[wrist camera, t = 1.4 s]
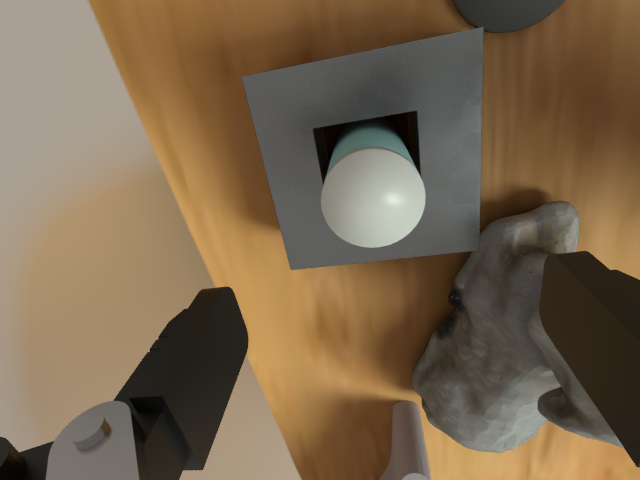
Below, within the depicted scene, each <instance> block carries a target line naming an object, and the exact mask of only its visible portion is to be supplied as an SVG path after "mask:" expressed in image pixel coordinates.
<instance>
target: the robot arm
mask: <svg viewBox="0 0 640 480" xmlns="http://www.w3.org/2000/svg"><path fill="white" fill-rule="evenodd" d="M539 314H540V319H541V323H542V326H543V328H544V330H545V332H546V334H547V335H548V337H549V338H550V340H551V341H552V343H553V344H554V346H555V347H556V349H557V350H558V351H559V353H560V354H561V356H562V357H563V359H564V360H565V362H566V363H567V365H568V366H569V368H570V369H571V371H572V372H573V374H574V375H575V376H576V378H577V379H578V381H579V382H580V384H581V385H582V387H583V388H584V390H585V391H586V393H587V394H588V396H589V397H590V399H591V400H592V401H593V403H594V404H595V406H596V407H597V409H598V410H599V412H600V413H601V415H602V416H603V418H604V419H605V421H606V422H607V423H608V425H609V426H610V428H611V429H612V431H613V432H614V434H615V435H616V437H617V438H618V440H619V441H620V443H621V444H622V446H623V447H624V448H625V450H626V451H627V453H628V454H629V456H630V457H631V459H632V460H633V462H634V463H635V465H636V466H637V467H640V280H638V279H636V278H634V277H632V276H629V275H627V274H625V273H623V272H621V271H618V270H609V269H608V268H607V267H606V266H605V265H604V264H602V263H601V262H600V261H599V260H598V259H596V258H595V257H594V256H593V255H592V254H590V253H589V252H587V251H580V252H570V253H560V254H551V255H548V256H547V257H546V259H545V262H544V269H543V278H542V287H541V295H540V304H539ZM247 349H248V332H247V328H246V326H245V323H244V320H243V317H242V314H241V311H240V308H239V306H238V303H237V300H236V297H235V294H234V292H233V290H232V289H231V288H230V287H219V288H210V289H202V290H201V291H200V292H199V293H198V294H197V296H196V297H195V299H194V300H193V302H192V303H191V305H190V306H189V308H188V309H184V310H183V311H182V312H180V313H179V314H178V315H177V316H176V317H174V318H173V319H172V320H171V321H170V322H169V323H168V324H167V325H166V327H165V329H164V330H163V331H162V333H161V334H160V336H159V339H158V340H156V341H155V343H154V344H153V345H152V347H151V348H150V352H148V353H147V354H146V355H145V357H144V358H143V359H142V361H141V362H140V364H139V365H138V366H137V368H136V369H135V371H134V372H133V374H132V375H131V376H130V378H129V379H128V381H127V382H126V384H125V385H124V386H123V388H122V389H121V391H120V392H119V394H118V395H117V396H116V398H115V399H114V400H113V401H109V402H105V403H102V404H99V405H96V406H94V407H92V408H90V409H88V410H86V411H85V412H83V413H82V414H80V415H79V416H77V417H76V418H75V419H74V420H72V421H71V422H70V423H69V424H68V425H67V426H66V427H65V428H64V429H63V430H62V431H61V433H60V434H59V435H58V436H57V438H56V439H55V441H53V442H50V443H47V444H44V445H41V446H38V447H35V448H31V449H29V450H25V451H22V452H18V451H17V450H16V449H15V448H14V447H13V445H12V444H11V443H10V442H9V441H8V440H7V439H6V438H3V437H0V480H179V478H180V476H181V473H182V471H183V470H203V468H204V466H205V463H206V460H207V457H208V455H209V452H210V449H211V447H212V444H213V441H214V439H215V436H216V433H217V431H218V428H219V425H220V423H221V420H222V417H223V414H224V412H225V409H226V407H227V404H228V401H229V398H230V396H231V393H232V390H233V388H234V385H235V382H236V380H237V376H238V374H239V372H240V369H241V366H242V364H243V361H244V358H245V356H246V353H247Z"/></svg>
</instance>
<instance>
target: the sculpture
mask: <svg viewBox="0 0 640 480" xmlns="http://www.w3.org/2000/svg"><path fill="white" fill-rule="evenodd" d="M579 220H580V216H579V213H578V211H577V210H576V209H575V207H574V206H573V205H572V204H570V203H569V202H565V201H552V202H548V203H546V204H544V205H542V206H540V207H538V208H536V209H534V210H532V211H529V212H527V213H523V214H519V215H514V216H509V217H505V218H501V219H498V220H495V221H493V222H492V223H490V224H488V225H487V226H486V227H485V228H484V229H483V231H482V232H481V233H480V242H479V250H478V251H471V253H470V256H469V257H468V259H467V260H466V262H465V263H464V265H463V266H462V268H461V269H460V271H459V272H458V274H457V275H456V277H455V281H454V285H453V288H452V290H451V292H450V294H449V296H448V298H449V303H450V304H451V305H453V306H456V310H455V312H454V313H453V314H452V315H451V316H450V317H448V318H447V319H446V320H445V321H444V322H443V323H442V324H441V325H440V326H439V327H437V328H436V330H435V332H434V333H433V334H432V336H431V337H430V340H429V343H428V346H427V348H426V351H425V352H424V353H423V354H422V356H421V357H420V359H419V361H418V363H417V365H416V366H415V368H414V369H413V373H412V378H411V383H412V387H413V388H414V390H415V391H416V392H417V393H418V394H419V395H420V396H421V397H422V407H423V409H424V411H425V413H426V415H427V419H428V421H429V422H430V423H431V424H432V425H433V426H435V427H436V428H438V429H439V430H441V431H443V432H444V433H446V434H447V435H448V436H450V437H451V438H452V439H454V440H455V441H457V442H458V443H460V444H461V445H463V446H464V447H466V448H469V449H472V450H476V451H482V452H494V453H502V452H504V451H507V450H513V449H514V448H516V447H518V446H520V445H522V444H523V443H524V442H526V441H527V440H529V439H531V438H533V437H534V436H535V435H536V434H537V433H538V430H539V428H540V427H541V426H542V425H543V424H544V423H545V422H546V421H547V420H549V421H551V422H552V423H554V424H556V425H558V426H559V427H561V428H563V429H565V430H567V431H569V432H572V433H575V434H578V435H580V436H583V437H586V438H590V439H595V440H599V441H603V442H607V443H610V444H614V445H616V446H619V447H622V448H624V447H623V446H622V444H621V443H620V441H619V440H618V438H617V437H616V435H615V434H614V432H613V431H612V429H611V428H610V426H609V425H608V423H607V422H606V421H605V419H604V418H603V416H602V415H601V413H600V412H599V410H598V409H597V407H596V406H595V404H594V403H593V401H592V400H591V399H590V397H589V396H588V394H587V393H586V391H585V390H584V388H583V387H582V385H581V384H580V382H579V381H578V379H577V378H576V376H575V375H574V374H573V372H572V371H571V369H570V368H569V366H568V365H567V363H566V362H565V360H564V359H563V357H562V356H561V354H560V353H559V351H558V350H557V349H556V347H555V346H554V344H553V343H552V341H551V340H550V338H549V337H548V335H547V334H546V332H545V330H544V328H543V326H542V323H541V319H540V314H539V304H540V295H541V287H542V278H543V269H544V262H545V259H546V257H547V256H548V255H551V254H560V253H570V252H576V247H577V242H578V237H579Z"/></svg>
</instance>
